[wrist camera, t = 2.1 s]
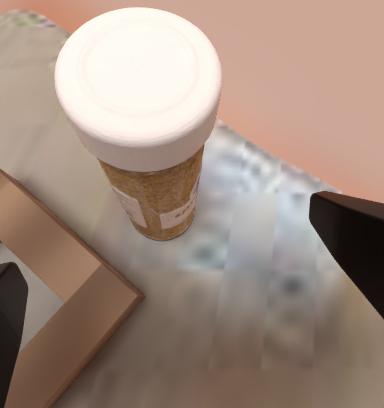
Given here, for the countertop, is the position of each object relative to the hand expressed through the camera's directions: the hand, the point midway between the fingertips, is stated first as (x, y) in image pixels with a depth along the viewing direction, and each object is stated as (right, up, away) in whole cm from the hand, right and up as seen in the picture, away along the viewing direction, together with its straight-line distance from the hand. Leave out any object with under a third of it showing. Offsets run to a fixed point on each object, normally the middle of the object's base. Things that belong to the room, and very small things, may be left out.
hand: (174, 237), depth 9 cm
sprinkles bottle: (-2, +1, +12) cm, 12 cm away
